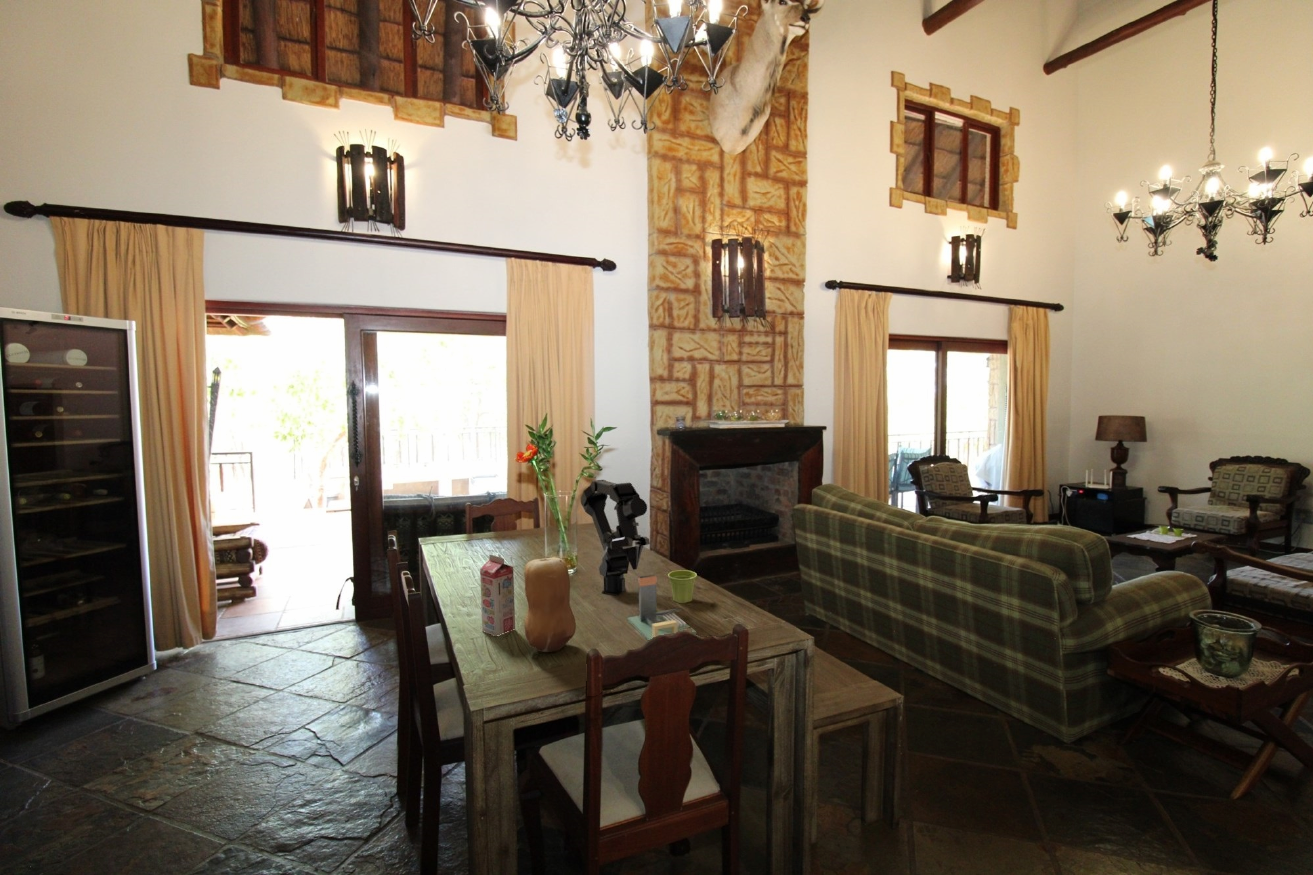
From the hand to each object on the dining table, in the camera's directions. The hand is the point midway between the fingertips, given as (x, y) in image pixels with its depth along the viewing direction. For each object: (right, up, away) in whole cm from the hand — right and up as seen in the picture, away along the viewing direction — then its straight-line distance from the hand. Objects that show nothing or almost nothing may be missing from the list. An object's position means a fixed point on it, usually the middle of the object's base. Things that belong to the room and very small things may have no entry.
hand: (635, 569), depth 194 cm
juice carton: (-39, -14, -18) cm, 45 cm away
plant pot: (+15, -12, +6) cm, 20 cm away
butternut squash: (-22, -15, -31) cm, 41 cm away
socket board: (+8, -13, -16) cm, 23 cm away
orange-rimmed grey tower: (+9, -12, -14) cm, 20 cm away
